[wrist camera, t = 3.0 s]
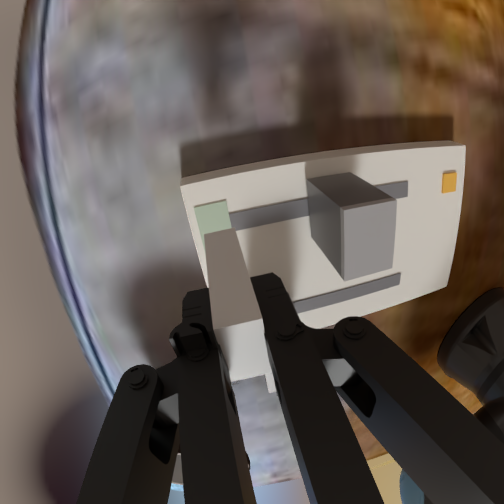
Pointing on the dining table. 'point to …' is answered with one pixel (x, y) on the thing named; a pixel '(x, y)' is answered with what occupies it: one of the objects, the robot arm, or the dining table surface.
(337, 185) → the block
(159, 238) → the dining table surface
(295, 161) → the panel
